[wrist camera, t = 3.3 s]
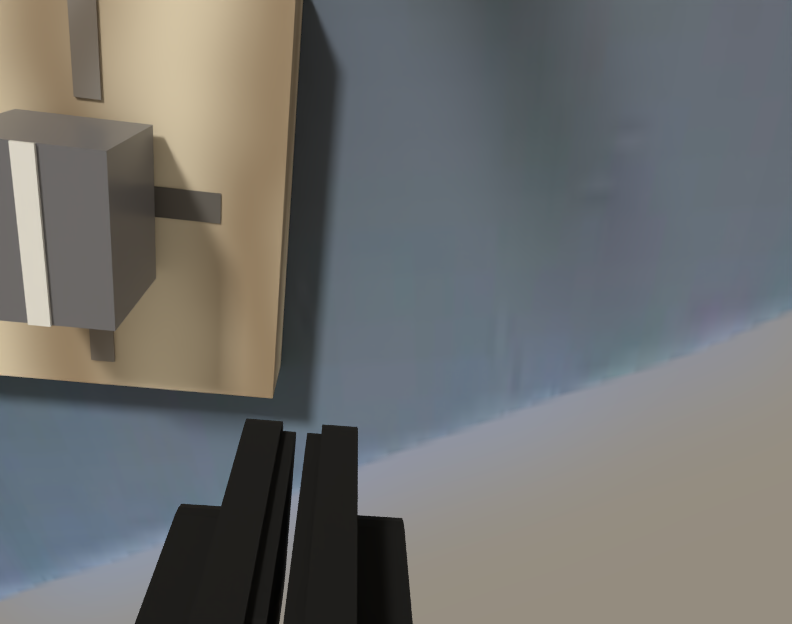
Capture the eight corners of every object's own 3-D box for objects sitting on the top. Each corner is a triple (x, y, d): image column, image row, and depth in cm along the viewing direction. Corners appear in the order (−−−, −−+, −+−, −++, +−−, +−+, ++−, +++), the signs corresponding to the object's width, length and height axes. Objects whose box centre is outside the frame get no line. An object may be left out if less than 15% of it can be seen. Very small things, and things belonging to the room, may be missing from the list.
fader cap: (152, 125, 21) (105, 152, 17) (156, 278, 23) (114, 332, 19) (14, 108, 20) (-65, 132, 17) (31, 266, 22) (-38, 318, 19)
